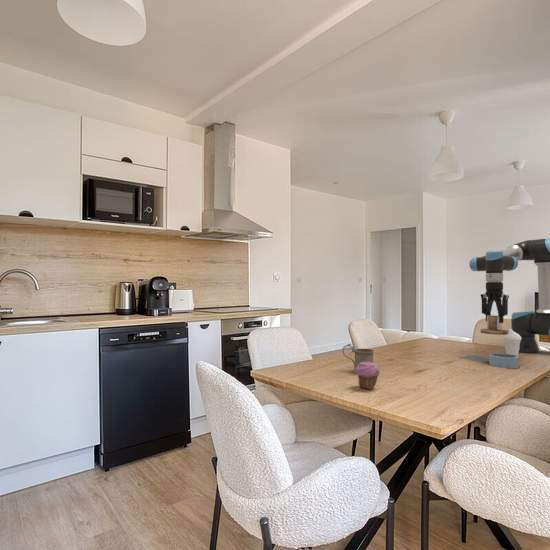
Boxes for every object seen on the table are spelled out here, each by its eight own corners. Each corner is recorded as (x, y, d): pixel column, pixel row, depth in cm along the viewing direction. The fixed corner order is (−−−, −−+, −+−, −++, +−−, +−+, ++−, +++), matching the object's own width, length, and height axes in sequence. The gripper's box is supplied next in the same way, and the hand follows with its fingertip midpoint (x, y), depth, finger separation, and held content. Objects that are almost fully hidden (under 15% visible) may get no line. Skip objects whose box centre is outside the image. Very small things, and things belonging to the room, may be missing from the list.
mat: (474, 355, 213) (474, 355, 213) (499, 360, 200) (499, 359, 200) (457, 358, 206) (457, 357, 206) (482, 363, 194) (482, 362, 194)
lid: (490, 331, 200) (490, 314, 201) (513, 334, 190) (513, 316, 190) (475, 332, 195) (475, 315, 195) (498, 335, 184) (497, 317, 185)
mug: (375, 370, 178) (375, 343, 178) (375, 375, 168) (375, 347, 168) (343, 368, 182) (343, 342, 182) (341, 372, 172) (341, 345, 172)
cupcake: (351, 387, 148) (351, 361, 148) (363, 383, 154) (363, 358, 154) (371, 392, 141) (371, 365, 141) (384, 388, 147) (384, 361, 148)
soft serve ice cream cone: (516, 357, 207) (516, 327, 208) (525, 361, 199) (524, 329, 199) (500, 357, 208) (499, 327, 208) (507, 360, 200) (507, 329, 200)
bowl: (499, 362, 196) (499, 352, 196) (525, 367, 185) (524, 356, 185) (483, 364, 190) (483, 354, 190) (509, 369, 179) (509, 358, 179)
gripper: (473, 281, 199) (473, 327, 199) (506, 281, 183) (506, 331, 183) (483, 281, 203) (483, 326, 202) (516, 281, 187) (516, 330, 186)
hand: (494, 328), depth 192 cm, fingers closed on lid, 5 cm apart
